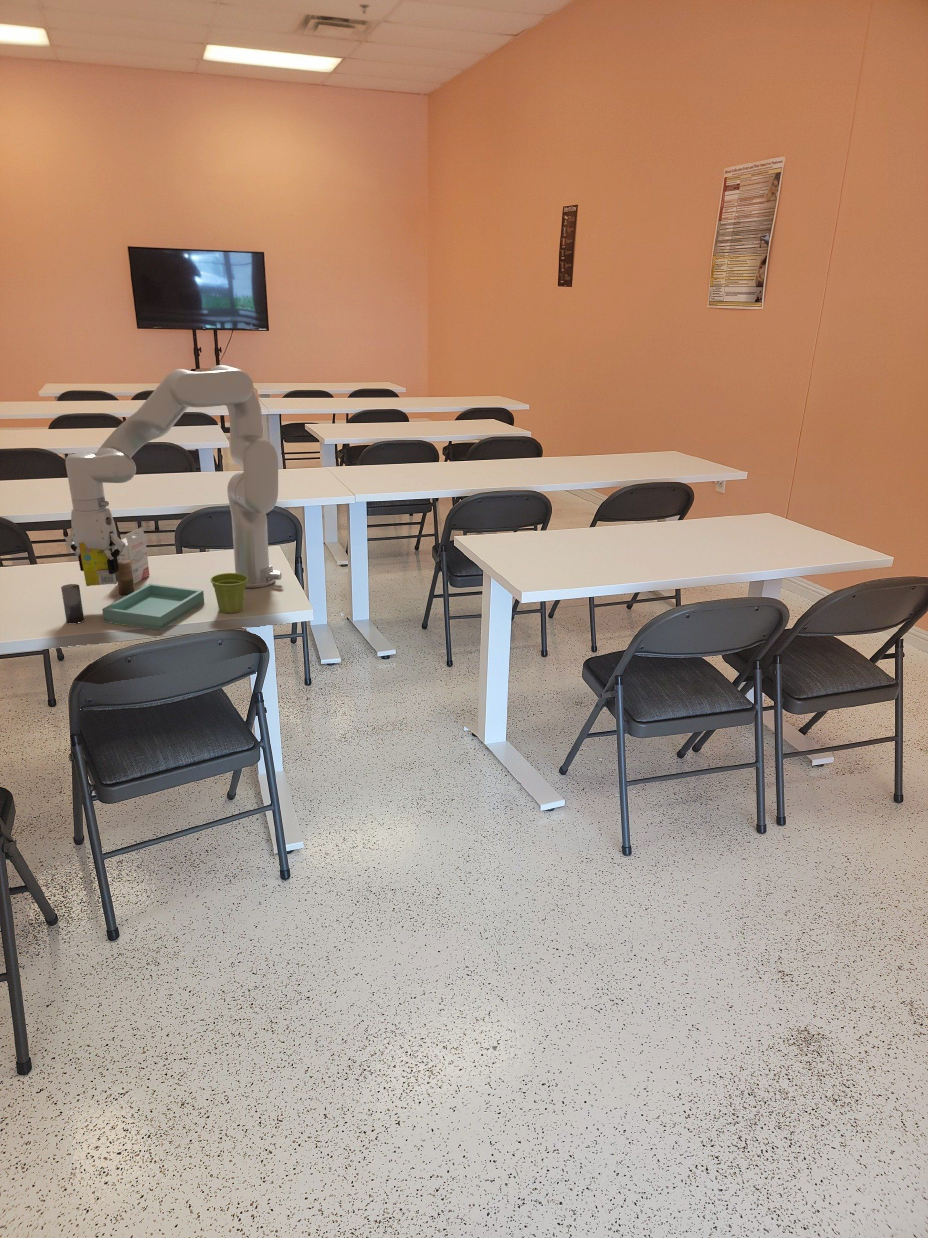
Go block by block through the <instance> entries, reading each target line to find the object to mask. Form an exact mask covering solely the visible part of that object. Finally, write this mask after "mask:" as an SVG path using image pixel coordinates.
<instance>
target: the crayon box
mask: <svg viewBox="0 0 928 1238" xmlns="http://www.w3.org/2000/svg"><path fill="white" fill-rule="evenodd" d="M109 546H110V544H109ZM79 547H80V554H81V560H82V565H83V570H84V571H83V575H84V576H83V577H84V582H85V586H86V587H90V586H102V585H103V586H104V585H105V586H106V585H118V582H117V581H118V578H117V572H116V573H114V574H109V571H108V565H107V559H109V558H108V556H107V555H106V553H105V552H104V550H97V549H90V548H87V546H86V545H85V544H84V543H79ZM109 550H110V552H111V548H110V549H109ZM111 553H112V552H111Z"/></svg>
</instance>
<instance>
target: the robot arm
mask: <svg viewBox="0 0 928 1238" xmlns="http://www.w3.org/2000/svg"><path fill="white" fill-rule="evenodd" d="M220 406H226V408H227V413H228V418H229V441H230V442H229V445H230V446H229V448H230V457H231V460H232V461H233V462H234V463H235V464H236V465H238V466H239V467H241V468H243V471H239V472H237V473H235V474H234V475H232V477H231V478H230V479H229V481H228V483H227V489H226V490H227V499H228V503H229V509H230V516H231V526H232V543H233V556H234V559H233V560H234V570H235V571H234V573H238V574H243V575H245V576H247V577H248V581H247V582H246V586H245V589H246V588H247V589H255V588H256V589H257V588H262V587H267V586H270V585H272V584H273V583H275V581H276V580H277V581H281V579H282V578H283V577H282V575H283V574H282V571H280V570H274V569H273V565H272V564H270V558H269V557H270V556H269V555H270V554H269V540H268V539H269V538H268V537H269V536H268V518H267V514H268V513H269V512H271V511H272V510H273V509H274V507H275V506H276V505H277V503H278V498H279V457H278V453H277V450H276V447H275V446H274V445H273V444H272V443H271V441H269V440H268V439H266V438H264V433H263V429H264V428H263V417H262V416H263V415H262V407H261V404H260V401H259V398H258V396H257V394H256V392H255V391H254V382H253V380H252V378H251V376H250V375H249V374H248V373H247V372H245V371H244V370H242V369H240V368H236V367H233V366H228V365H226V364H225V365H224V364H223V365H222V364H219V365H214V366H213V367H211V368H210V369H209V371H191V370H187V369H183V368H177V369H174V370H172V371H170V372H169V373H168V374H167V375H166V376H165V377H164V379H163V380H162V381H161V382H160V383H159V384H158V386H157V387H156V388H155V389H154V391H153V392H152V393H150V395H149V396H148V397H147V399H146V400H145V401H144V402H143V404H142V405H141V406H140V407H139V408H138V409H137V410H136V411H135V412H134V413H133V414H131V415H130V416H129V417H127V419H126V420H124V421H123V422H122V423H121V424H120V425H119V426H117V427H116V428H115V429H114V430H113V432H111V434H110V435H109V436H108V437H107V438H106V439H105V440H104V442H103V443H102V444H101V446H100V447H99V448H98V450H97V451H96V454H95V453H91V452H78V453H77V452H76V453H72V454H68V455H67V456H66V458H65V461H64V462H65V468H66V475H67V480H68V487H69V493H70V497H71V502H72V503H71V504H72V509H71V514H70V515H71V518H70V520H71V521H70V522H71V533H70V534H69V535H68V536H66V537H65V542H66V543H67V544H68V545H69V547H70V549H71V550H72V551H73V552H74V555H75V556H76V557H77V558H78V564H79V570H80V571H81V572H84V570H83V565H82V560H81V554H80V547H79V543H84V544H85V545H86V546H87V548H90V549H97V550H104V552H105V553H106V555H107V556H108V558H109V559H107V565H108V571H109V574H114V573H116V572H118V571H119V566H118V559H117V557H118V556H119V554H120V553H121V552H122V550H123V548H124V547H125V543H124V542H123V541H122V539H120V537H118V533H117V529H116V523H115V521H114V518H113V514H112V512H111V510H110V508H109V506H110V503H109V501H108V500H106V497H105V490H104V483H107V484H123V483H127V482H129V481H131V480H132V479H133V478H134V477H135V475H136V473H137V466H136V463H135V461H134V459H132V457H134V455H135V454H136V453H137V451H139V449H141V448H142V447H143V446H144V445H146V444H148V443H149V442H150V441H151V442H152V440H156V439H160V438H161V437H163V436H164V435H165V436H166V434H167V433H169V431H171V429H172V428H173V427H174V426H175V424H176V423H177V421H178V420H179V419H180V418H181V416H182V417H183V414H185V412H186V411H187V409H188V408H211V407H220ZM107 507H108V508H107ZM109 544H110V546H109ZM116 545H117V547H116V548H115V547H114V546H116ZM110 548H111V552H112V553H111V552H110V550H109V549H110Z"/></svg>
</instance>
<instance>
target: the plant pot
mask: <svg viewBox="0 0 928 1238" xmlns="http://www.w3.org/2000/svg"><path fill="white" fill-rule="evenodd" d="M209 580H210V582H211V584H212V587H213V588H214V589H213V590H214V592H215V593H214V594H215V597H216V602H217V606H218V611H219V612H221V613H223V614H227V613H232V614H236V613H239V612H241V611H243V609H244V601H245V590H246V588H245V586H246V582H247V581H248V577H247V576H245V575H243V574H238V573H235V572H227V573H224V572H223V573H219V574H215V575H213V576H212V577H211V576H210V579H209Z"/></svg>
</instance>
